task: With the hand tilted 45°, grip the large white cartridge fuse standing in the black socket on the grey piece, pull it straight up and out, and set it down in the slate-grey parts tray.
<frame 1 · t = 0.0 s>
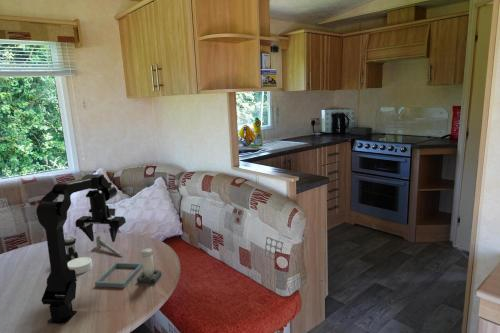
hand: (103, 241, 141), 15 cm above the table, tool pointing down, fingers open, 9 cm apart
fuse: (149, 278, 137), point 1 cm above the table, touching grey piece
white round disc: (80, 269, 149), on the table
parts tray: (120, 277, 140), on the table
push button: (70, 259, 159), on the table
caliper: (109, 252, 165), on the table
grey piece: (149, 280, 138), on the table
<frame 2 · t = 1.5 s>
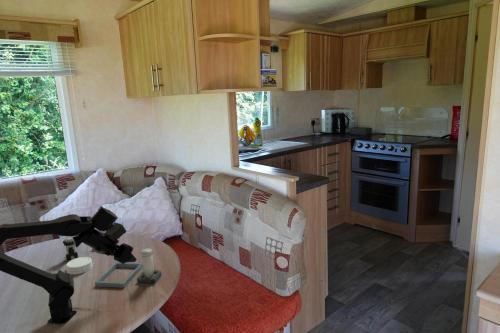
hand: (128, 257, 129), 13 cm above the table, tool tilted 45°, fingers open, 9 cm apart
nothing on the table moved.
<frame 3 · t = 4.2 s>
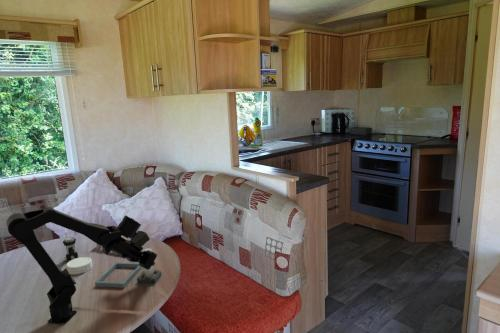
hand: (151, 262, 137), 7 cm above the table, tool tilted 45°, fingers closed on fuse, 4 cm apart
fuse: (149, 278, 137), point 1 cm above the table, touching grey piece, gripper
everything else where it was.
when the fingers open (8 cm above the table, at t = 8.3 s): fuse drops 1 cm, resting on parts tray.
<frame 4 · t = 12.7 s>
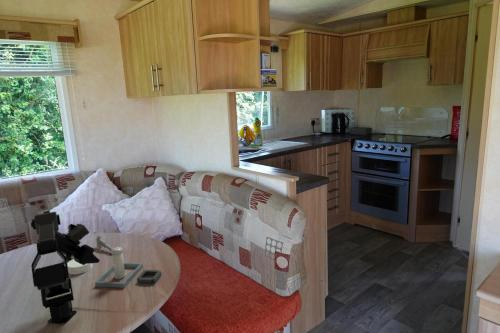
hand: (92, 258, 129), 14 cm above the table, tool tilted 45°, fingers open, 9 cm apart
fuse: (120, 276, 140), point 1 cm above the table, touching parts tray
everything else where it was.
at the end: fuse inside the target area on the parts tray (0.0 cm from its centre), point 0.6 cm above the parts tray's base; the gripper is holding nothing; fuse moved 13.0 cm from its start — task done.
